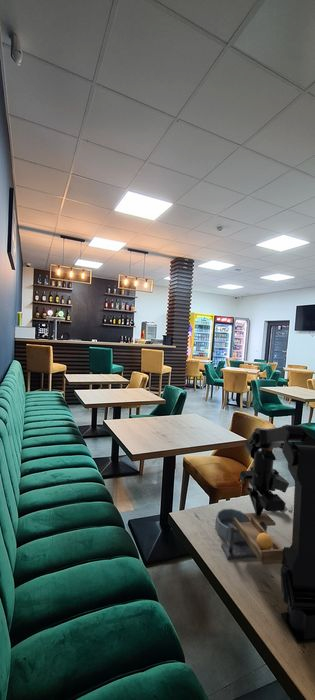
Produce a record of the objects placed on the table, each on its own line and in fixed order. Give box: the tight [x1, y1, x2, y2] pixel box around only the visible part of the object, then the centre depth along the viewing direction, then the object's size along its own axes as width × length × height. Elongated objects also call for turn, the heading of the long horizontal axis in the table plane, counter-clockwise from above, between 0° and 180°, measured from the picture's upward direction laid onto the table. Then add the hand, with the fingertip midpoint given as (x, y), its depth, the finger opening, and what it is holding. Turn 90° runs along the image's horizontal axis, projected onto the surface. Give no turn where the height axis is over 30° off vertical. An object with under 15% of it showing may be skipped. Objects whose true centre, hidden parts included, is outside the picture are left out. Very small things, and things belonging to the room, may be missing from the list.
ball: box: [257, 532, 273, 550], centre depth 80 cm, size 4×4×4 cm
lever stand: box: [220, 522, 268, 560], centre depth 90 cm, size 5×13×8 cm, turn 100°
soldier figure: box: [272, 504, 294, 514], centre depth 112 cm, size 8×5×12 cm
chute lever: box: [233, 512, 284, 566], centre depth 87 cm, size 22×14×3 cm, turn 10°
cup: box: [214, 508, 249, 543], centre depth 99 cm, size 11×11×4 cm
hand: (257, 514), depth 98 cm, fingers closed, pressing on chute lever
